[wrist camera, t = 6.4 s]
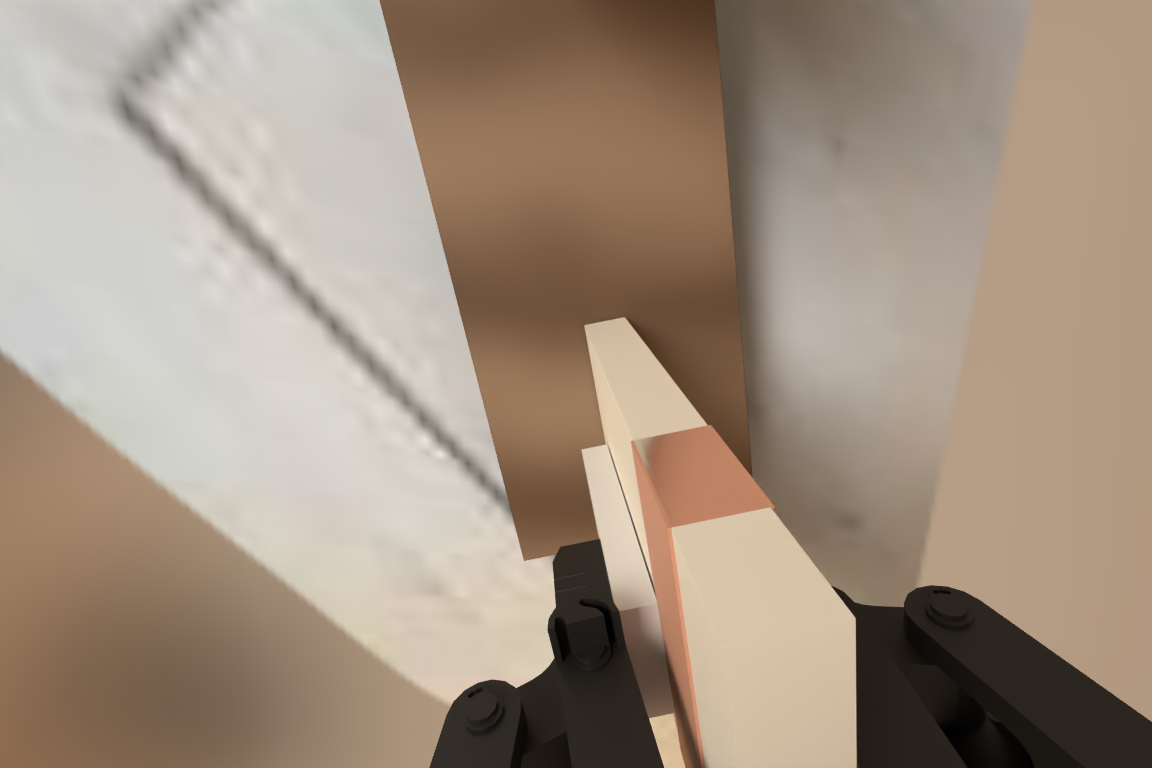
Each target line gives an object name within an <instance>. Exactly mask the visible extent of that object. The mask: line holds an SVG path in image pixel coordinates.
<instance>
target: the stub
mask: <svg viewBox="0 0 1152 768" xmlns="http://www.w3.org/2000/svg"><path fill="white" fill-rule="evenodd" d="M584 327H585V332H586V338H587V343H588V349H589V354H590V360H591V366H592V371H593V377H594V382H595V388H596V393H597V399H598V404H599V410H600V416H601V421H602V427H603V432H604V438H605V443H606V444H607V446H608V449H609V452H610V456H611V459H612V462H613V465H614V468H615V471H616V474H617V477H618V481H619V484H620V487H621V490H622V493H623V496H624V499H625V503H626V506H627V509H628V512H629V515H630V518H631V521H632V524H633V528H634V531H635V534H636V537H637V540H638V543H639V546H640V550H641V553H642V556H643V559H644V562H645V565H646V568H647V572H648V575H649V578H650V581H651V584H652V587H653V590H654V593H655V597H656V600H657V606H658V612H659V618H660V625H661V631H662V637H663V643H664V649H665V655H666V662H667V668H668V674H669V680H670V686H671V692H672V699H673V705H674V711H675V713H673V715H674V718H675V722H676V726H677V730H678V736H679V742H680V748H681V752H682V756H683V760H684V763H685V767H686V768H857V747H856V618H855V617H854V615H853V614H852V613H851V611H850V610H849V609H848V608H847V606H846V605H845V604H844V602H843V601H842V600H841V598H840V597H839V596H838V595H837V593H836V592H835V591H834V589H833V588H832V587H831V585H830V584H829V583H828V582H827V580H826V579H825V578H824V576H823V575H822V574H821V572H820V571H819V570H818V568H817V567H816V566H815V565H814V563H813V562H812V561H811V559H810V558H809V557H808V555H807V554H806V553H805V552H804V550H803V549H802V548H801V546H800V545H799V544H798V542H797V541H796V540H795V538H794V537H793V536H792V535H791V533H790V532H789V531H788V529H787V528H786V527H785V525H784V524H783V523H782V522H781V520H780V519H779V518H778V516H777V515H776V514H775V506H774V505H773V504H772V502H771V501H770V500H769V498H768V497H767V496H766V495H765V493H764V492H763V491H762V490H761V488H760V487H759V486H758V484H757V483H756V482H755V481H754V479H753V478H752V477H751V475H750V474H749V473H748V472H747V470H746V469H745V468H744V467H743V465H742V464H741V463H740V461H739V460H738V459H737V458H736V456H735V455H734V454H733V452H732V451H731V450H730V449H729V447H728V446H727V445H726V443H725V442H724V441H723V440H722V438H721V437H720V436H719V435H718V433H717V432H716V431H715V429H714V428H713V427H712V426H711V425H707V424H706V422H705V421H704V420H703V419H702V417H701V416H700V415H699V413H698V412H697V411H696V409H695V408H694V407H693V405H692V404H691V403H690V402H689V400H688V399H687V398H686V396H685V395H684V394H683V392H682V391H681V390H680V389H679V387H678V386H677V385H676V383H675V382H674V381H673V379H672V378H671V377H670V375H669V374H668V373H667V372H666V370H665V369H664V368H663V366H662V365H661V364H660V362H659V361H658V360H657V359H656V357H655V356H654V355H653V353H652V352H651V351H650V349H649V348H648V347H647V345H646V344H645V343H644V342H643V340H642V339H641V338H640V336H639V335H638V334H637V332H636V331H635V330H634V329H633V327H632V326H631V325H630V323H629V322H628V321H627V319H626V318H625V317H623V318H618V319H613V320H608V321H603V322H598V323H593V324H588V325H584Z"/></svg>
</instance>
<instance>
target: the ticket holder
mask: <svg viewBox="0 0 1152 768" xmlns="http://www.w3.org/2000/svg"><path fill="white" fill-rule="evenodd" d="M380 4H381V8H382V11H383V15H384V19H385V23H386V27H387V31H388V35H389V39H390V43H391V46H392V50H393V54H394V58H395V62H396V66H397V70H398V74H399V77H400V81H401V85H402V89H403V93H404V97H405V101H406V105H407V108H408V112H409V116H410V120H411V124H412V128H413V132H414V136H415V140H416V143H417V147H418V151H419V155H420V159H421V163H422V167H423V171H424V174H425V178H426V182H427V186H428V190H429V194H430V198H431V202H432V205H433V209H434V213H435V217H436V221H437V225H438V229H439V233H440V237H441V240H442V244H443V248H444V252H445V256H446V260H447V264H448V268H449V271H450V275H451V279H452V283H453V287H454V291H455V295H456V299H457V302H458V306H459V310H460V314H461V318H462V322H463V326H464V330H465V333H466V337H467V341H468V345H469V349H470V353H471V357H472V361H473V365H474V368H475V372H476V376H477V380H478V384H479V388H480V392H481V396H482V399H483V403H484V407H485V411H486V415H487V419H488V423H489V427H490V430H491V434H492V438H493V442H494V446H495V450H496V454H497V458H498V462H499V465H500V469H501V473H502V477H503V481H504V485H505V489H506V493H507V496H508V500H509V504H510V508H511V512H512V516H513V520H514V524H515V527H516V531H517V535H518V539H519V543H520V547H521V551H522V555H523V559H524V561H526V560H531V559H535V558H540V557H545V556H550V555H555V554H557V552H558V550H559V548H560V547H562V546H567V545H572V544H576V543H581V542H586V541H591V540H596V539H599V536H598V531H597V526H596V521H595V516H594V511H593V506H592V501H591V496H590V491H589V486H588V481H587V475H586V470H585V465H584V460H583V455H582V449H587V448H591V447H596V446H601V445H606V443H605V438H604V432H603V427H602V421H601V416H600V410H599V404H598V399H597V393H596V388H595V382H594V377H593V371H592V366H591V360H590V354H589V349H588V343H587V338H586V332H585V327H584V325H588V324H593V323H598V322H603V321H608V320H613V319H618V318H623V317H625V318H626V319H627V321H628V322H629V323H630V325H631V326H632V327H633V329H634V330H635V331H636V332H637V334H638V335H639V336H640V338H641V339H642V340H643V342H644V343H645V344H646V345H647V347H648V348H649V349H650V351H651V352H652V353H653V355H654V356H655V357H656V359H657V360H658V361H659V362H660V364H661V365H662V366H663V368H664V369H665V370H666V372H667V373H668V374H669V375H670V377H671V378H672V379H673V381H674V382H675V383H676V385H677V386H678V387H679V389H680V390H681V391H682V392H683V394H684V395H685V396H686V398H687V399H688V400H689V402H690V403H691V404H692V405H693V407H694V408H695V409H696V411H697V412H698V413H699V415H700V416H701V417H702V419H703V420H704V421H705V422H706V424H707V425H711V426H712V427H713V428H714V429H715V431H716V432H717V433H718V435H719V436H720V437H721V438H722V440H723V441H724V442H725V443H726V445H727V446H728V447H729V449H730V450H731V451H732V452H733V454H734V455H735V456H736V458H737V459H738V460H739V461H740V463H741V464H742V465H743V467H744V468H745V469H746V470H747V472H748V473H749V474H750V475H751V477H752V467H751V454H750V442H749V429H748V417H747V404H746V392H745V379H744V367H743V354H742V342H741V329H740V316H739V304H738V291H737V279H736V266H735V254H734V241H733V229H732V216H731V203H730V191H729V178H728V166H727V153H726V141H725V128H724V116H723V103H722V90H721V78H720V65H719V53H718V40H717V28H716V15H715V3H714V0H380Z"/></svg>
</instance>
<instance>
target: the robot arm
mask: <svg viewBox="0 0 1152 768" xmlns="http://www.w3.org/2000/svg"><path fill="white" fill-rule="evenodd" d="M582 455H583V460H584V465H585V470H586V475H587V481H588V486H589V491H590V496H591V501H592V506H593V511H594V516H595V521H596V526H597V531H598V536H599V539H596V540H591V541H586V542H581V543H576V544H572V545H567V546H562V547H560V548H559V550H558V552H557V554H556V556H555V558H554V561H553V573H554V586H555V599H556V608H555V609H554V611H553V613H552V614H551V616H550V618H549V621H548V633H549V637H550V641H551V645H552V649H553V653H554V657H555V658H554V660H553V661H552V663H551V664H550V666H549V667H548V668H547V669H546V670H545V671H544V672H543V673H542V674H540V675H539V676H537V677H536V678H534V679H533V680H531V681H529V682H527V683H525V684H523V685H522V686H520V687H518V688H515V687H514V686H512V685H510V684H509V683H507V682H505V681H499V680H488V681H484V682H480V683H477V684H475V685H473V686H472V687H470V688H468V689H466V690H465V691H464V692H463V693H462V694H461V695H460V696H459V697H458V698H457V699H456V700H455V701H454V702H453V704H452V706H451V708H450V710H449V712H448V714H447V716H446V719H445V722H444V725H443V728H442V731H441V734H440V737H439V740H438V744H437V747H436V750H435V753H434V756H433V759H432V762H431V765H430V768H664V766H663V763H662V759H661V756H660V753H659V750H658V747H657V743H656V740H655V737H654V734H653V731H652V727H651V724H650V721H649V718H652V717H656V716H661V715H666V714H670V713H675V711H674V705H673V699H672V692H671V686H670V680H669V674H668V668H667V662H666V655H665V649H664V643H663V637H662V631H661V625H660V618H659V612H658V606H657V600H656V597H655V593H654V590H653V587H652V584H651V581H650V578H649V575H648V572H647V568H646V565H645V562H644V559H643V556H642V553H641V550H640V546H639V543H638V540H637V537H636V534H635V531H634V528H633V524H632V521H631V518H630V515H629V512H628V509H627V506H626V503H625V499H624V496H623V493H622V490H621V487H620V484H619V481H618V477H617V474H616V471H615V468H614V465H613V462H612V459H611V456H610V452H609V449H608V446H607V444H606V445H601V446H596V447H591V448H587V449H582ZM831 587H832V588H833V589H834V591H835V592H836V593H837V595H838V596H839V597H840V598H841V600H842V601H843V602H844V604H845V605H846V606H847V608H848V609H849V610H850V611H851V613H852V614H853V615H854V617H855V618H856V747H857V768H1152V722H1151V721H1150V720H1148V719H1147V718H1145V717H1144V716H1143V715H1141V714H1140V713H1138V712H1137V711H1136V710H1134V709H1133V708H1131V707H1130V706H1128V705H1127V704H1126V703H1124V702H1123V701H1121V700H1120V699H1119V698H1117V697H1116V696H1114V695H1113V694H1112V693H1110V692H1109V691H1107V690H1106V689H1104V688H1103V687H1102V686H1100V685H1099V684H1097V683H1096V682H1095V681H1093V680H1092V679H1090V678H1089V677H1087V676H1086V675H1085V674H1083V673H1082V672H1080V671H1079V670H1078V669H1076V668H1075V667H1073V666H1072V665H1071V664H1069V663H1068V662H1066V661H1065V660H1063V659H1062V658H1061V657H1059V656H1058V655H1056V654H1055V653H1054V652H1052V651H1051V650H1049V649H1048V648H1046V647H1045V646H1044V645H1042V644H1041V643H1039V642H1038V641H1037V640H1035V639H1034V638H1032V637H1031V636H1030V635H1028V634H1027V633H1025V632H1024V631H1023V630H1021V629H1020V628H1018V627H1017V626H1015V625H1014V624H1013V623H1011V622H1010V621H1008V620H1007V619H1006V618H1004V617H1003V616H1001V615H1000V614H998V613H997V612H996V611H994V610H993V609H991V608H990V607H989V606H987V605H986V604H984V603H983V602H982V601H980V600H979V599H977V598H975V597H973V596H971V595H969V594H967V593H966V592H963V591H960V590H957V589H953V588H950V587H944V586H932V585H931V586H925V587H920V588H916V589H915V590H913V591H912V592H910V593H909V594H908V595H907V597H906V600H905V602H904V607H884V606H870V605H862V604H858V603H855V602H854V601H853V600H852V599H851V598H850V597H849V596H848V595H847V594H846V593H845V592H843V591H841V590H839V589H837V588H835V587H833V586H831Z"/></svg>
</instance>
